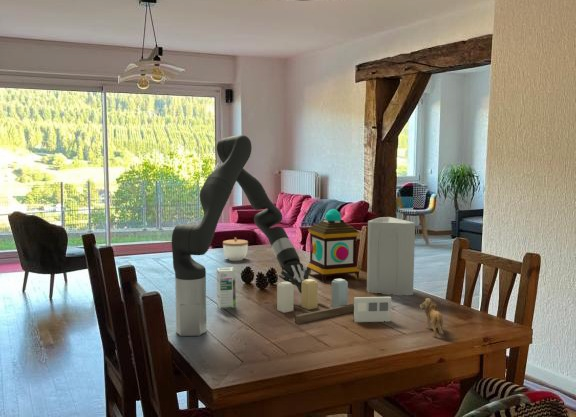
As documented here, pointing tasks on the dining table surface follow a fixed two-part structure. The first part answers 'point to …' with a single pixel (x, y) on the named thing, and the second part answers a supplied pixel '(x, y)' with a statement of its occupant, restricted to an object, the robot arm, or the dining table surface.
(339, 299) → the grey rounded cylinder
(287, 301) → the ivory key
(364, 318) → the tile
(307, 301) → the ochre key
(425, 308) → the lion figurine
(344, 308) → the wooden slatted rack
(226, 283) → the syrup box
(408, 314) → the dining table surface
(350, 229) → the decorative lantern
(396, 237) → the white paneled column
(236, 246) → the lidded bowl
